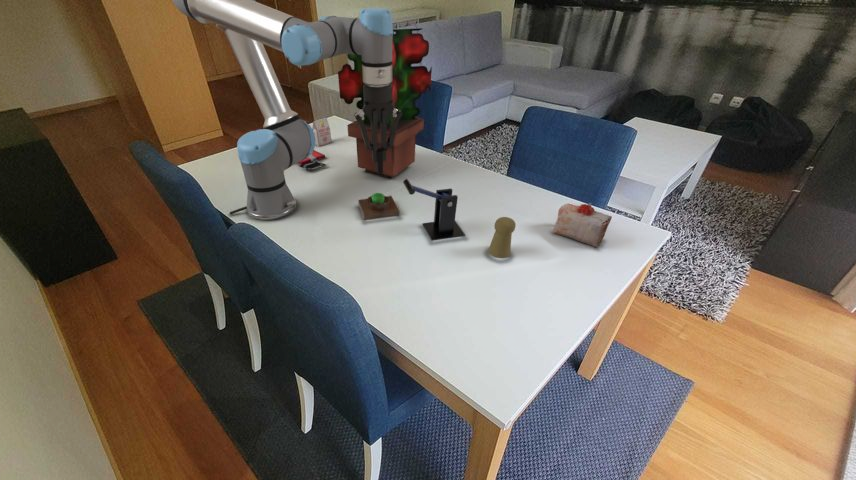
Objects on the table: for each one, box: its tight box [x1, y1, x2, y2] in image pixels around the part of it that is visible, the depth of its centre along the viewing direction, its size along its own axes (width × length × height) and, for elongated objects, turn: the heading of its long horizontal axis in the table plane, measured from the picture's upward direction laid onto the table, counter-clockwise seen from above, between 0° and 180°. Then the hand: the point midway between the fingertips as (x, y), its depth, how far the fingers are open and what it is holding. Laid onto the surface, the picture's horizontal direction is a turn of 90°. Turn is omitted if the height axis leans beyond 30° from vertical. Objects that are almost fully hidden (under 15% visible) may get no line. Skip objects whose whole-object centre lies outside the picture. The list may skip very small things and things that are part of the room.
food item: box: [553, 202, 613, 248], centre depth 108 cm, size 14×8×10 cm, turn 51°
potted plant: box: [337, 27, 433, 179], centre depth 132 cm, size 22×22×45 cm
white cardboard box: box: [311, 117, 333, 147], centre depth 164 cm, size 4×7×10 cm, turn 131°
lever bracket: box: [422, 188, 466, 242], centre depth 109 cm, size 10×9×13 cm
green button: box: [371, 192, 385, 204], centre depth 119 cm, size 4×4×2 cm
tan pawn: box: [487, 216, 517, 259], centre depth 101 cm, size 6×6×11 cm
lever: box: [402, 178, 451, 202], centre depth 103 cm, size 14×6×2 cm, turn 104°
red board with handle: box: [297, 149, 327, 172], centre depth 155 cm, size 30×3×15 cm
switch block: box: [357, 194, 400, 221], centre depth 121 cm, size 11×10×4 cm
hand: (379, 171), depth 112 cm, fingers closed
